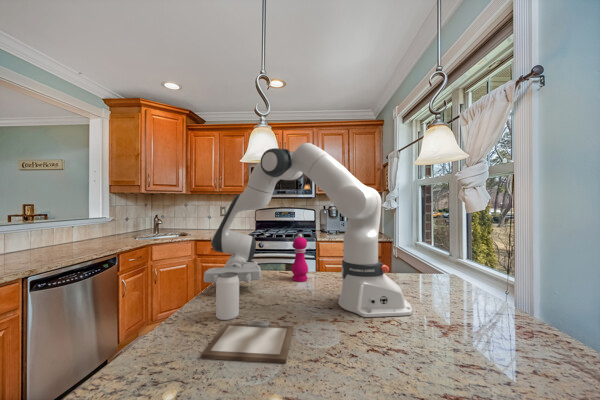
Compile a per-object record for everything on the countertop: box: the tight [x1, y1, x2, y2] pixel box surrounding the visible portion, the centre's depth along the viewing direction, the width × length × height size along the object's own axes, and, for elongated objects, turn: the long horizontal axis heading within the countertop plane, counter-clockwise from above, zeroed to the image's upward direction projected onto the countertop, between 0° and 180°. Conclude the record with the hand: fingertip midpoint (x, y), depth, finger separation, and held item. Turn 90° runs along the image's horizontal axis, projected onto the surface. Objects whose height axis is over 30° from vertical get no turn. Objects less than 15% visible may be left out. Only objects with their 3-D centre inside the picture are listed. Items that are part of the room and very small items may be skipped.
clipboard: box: [200, 320, 294, 364], centre depth 59 cm, size 18×14×2 cm
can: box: [215, 272, 240, 321], centre depth 73 cm, size 6×6×12 cm
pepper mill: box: [291, 233, 309, 283], centre depth 108 cm, size 7×7×20 cm
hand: (231, 280), depth 85 cm, fingers open, 8 cm apart
